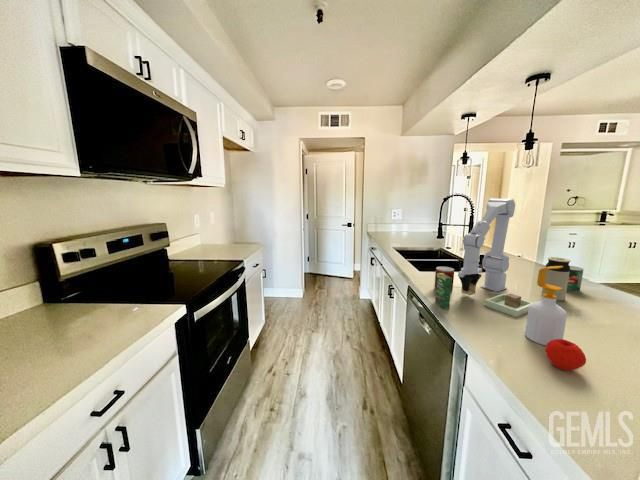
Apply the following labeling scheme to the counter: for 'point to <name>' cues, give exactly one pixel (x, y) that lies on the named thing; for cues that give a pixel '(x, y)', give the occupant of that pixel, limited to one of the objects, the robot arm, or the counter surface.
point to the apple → (565, 354)
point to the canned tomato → (574, 279)
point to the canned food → (446, 271)
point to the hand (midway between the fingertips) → (468, 289)
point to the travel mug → (557, 276)
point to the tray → (499, 305)
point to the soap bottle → (546, 314)
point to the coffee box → (443, 290)
